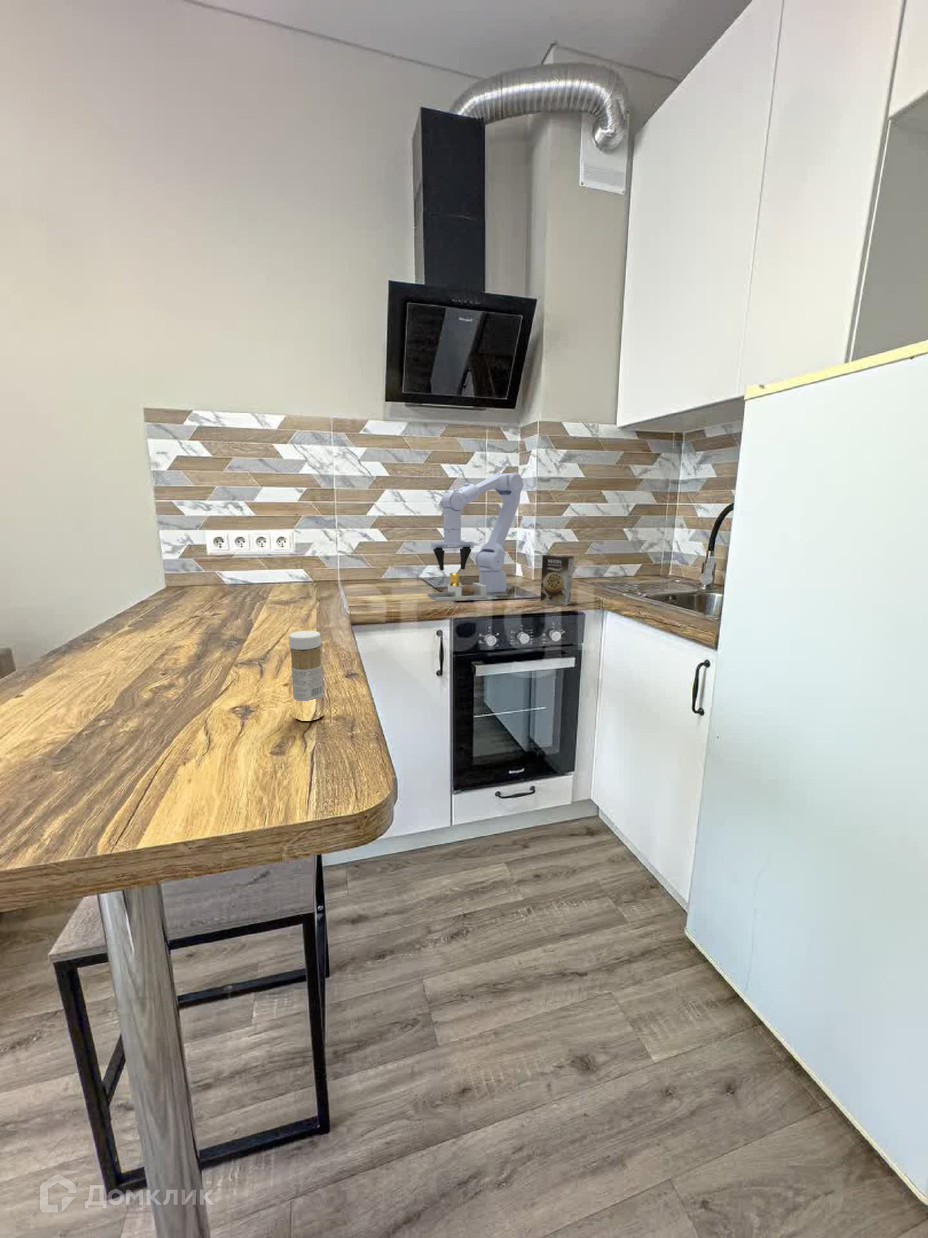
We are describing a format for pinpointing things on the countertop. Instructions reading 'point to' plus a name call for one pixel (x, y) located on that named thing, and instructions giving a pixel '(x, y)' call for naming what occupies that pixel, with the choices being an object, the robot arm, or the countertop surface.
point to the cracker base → (478, 594)
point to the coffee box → (556, 579)
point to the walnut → (468, 590)
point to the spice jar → (306, 665)
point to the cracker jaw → (454, 585)
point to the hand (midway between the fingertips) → (452, 569)
